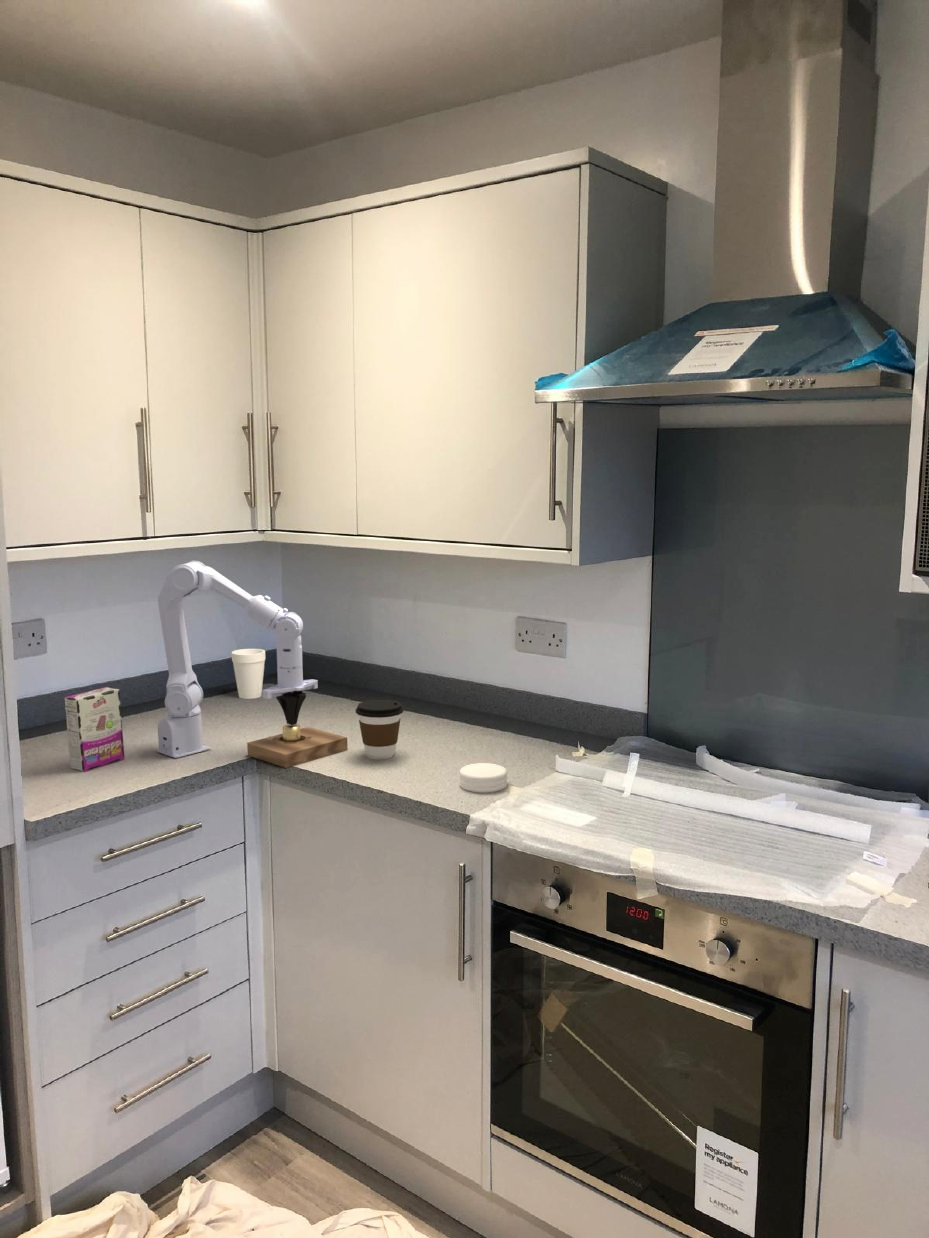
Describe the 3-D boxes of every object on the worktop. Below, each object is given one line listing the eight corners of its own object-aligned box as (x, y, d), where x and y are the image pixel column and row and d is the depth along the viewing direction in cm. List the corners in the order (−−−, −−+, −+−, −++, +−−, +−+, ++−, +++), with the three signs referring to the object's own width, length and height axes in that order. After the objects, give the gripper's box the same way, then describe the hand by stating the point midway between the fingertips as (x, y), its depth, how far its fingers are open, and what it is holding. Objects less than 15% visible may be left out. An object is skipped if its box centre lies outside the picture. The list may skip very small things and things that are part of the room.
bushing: (291, 754, 223) (290, 729, 222) (279, 751, 226) (279, 726, 225) (304, 750, 226) (303, 725, 225) (293, 747, 229) (292, 722, 228)
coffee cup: (401, 747, 229) (401, 697, 227) (406, 761, 218) (406, 709, 216) (354, 749, 227) (354, 699, 225) (357, 763, 216) (356, 711, 214)
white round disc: (496, 796, 196) (496, 779, 195) (451, 789, 199) (451, 773, 199) (514, 781, 205) (514, 765, 204) (470, 775, 208) (470, 759, 208)
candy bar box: (110, 755, 222) (106, 686, 220) (125, 759, 220) (121, 688, 217) (68, 768, 213) (63, 696, 210) (82, 772, 210) (77, 699, 208)
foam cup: (273, 693, 282) (271, 649, 280) (255, 701, 273) (253, 655, 271) (245, 691, 285) (243, 647, 283) (226, 698, 277) (224, 653, 275)
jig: (285, 767, 213) (285, 754, 213) (247, 755, 223) (247, 742, 222) (347, 749, 227) (347, 737, 226) (308, 738, 236) (308, 726, 235)
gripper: (275, 673, 215) (277, 733, 217) (325, 663, 225) (327, 720, 228) (255, 669, 219) (258, 727, 222) (306, 659, 230) (307, 715, 232)
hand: (291, 723), depth 225 cm, fingers closed
